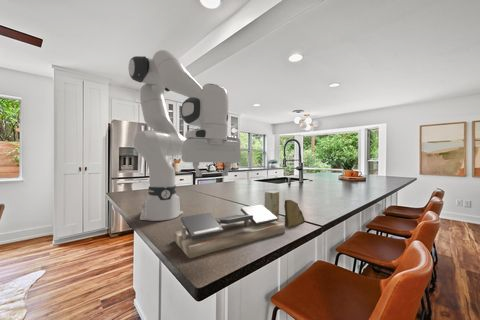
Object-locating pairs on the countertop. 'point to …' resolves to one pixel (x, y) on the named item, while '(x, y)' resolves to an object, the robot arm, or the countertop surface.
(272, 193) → the skincare box
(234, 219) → the panel
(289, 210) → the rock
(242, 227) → the switch panel
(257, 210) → the rocker
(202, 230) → the panel
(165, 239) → the countertop surface
